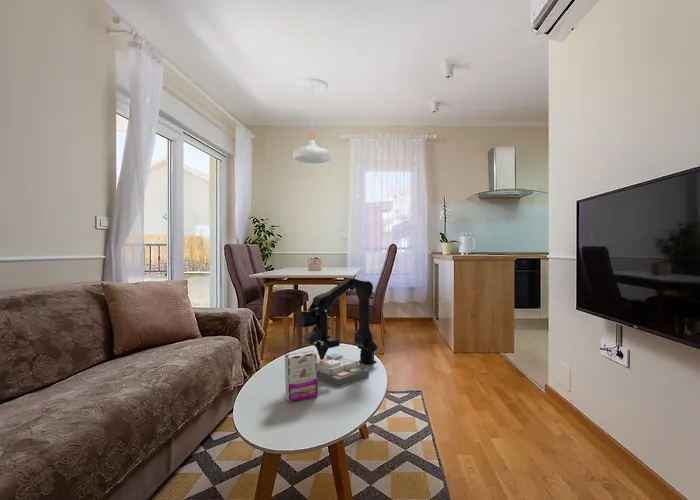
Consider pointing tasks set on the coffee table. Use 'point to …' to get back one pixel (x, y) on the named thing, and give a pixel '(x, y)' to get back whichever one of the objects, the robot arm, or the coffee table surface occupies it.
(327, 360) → the peach flat square block
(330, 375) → the keypad
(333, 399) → the coffee table surface
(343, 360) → the sage key
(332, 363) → the cream key
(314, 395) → the candy bar box
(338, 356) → the slate key
